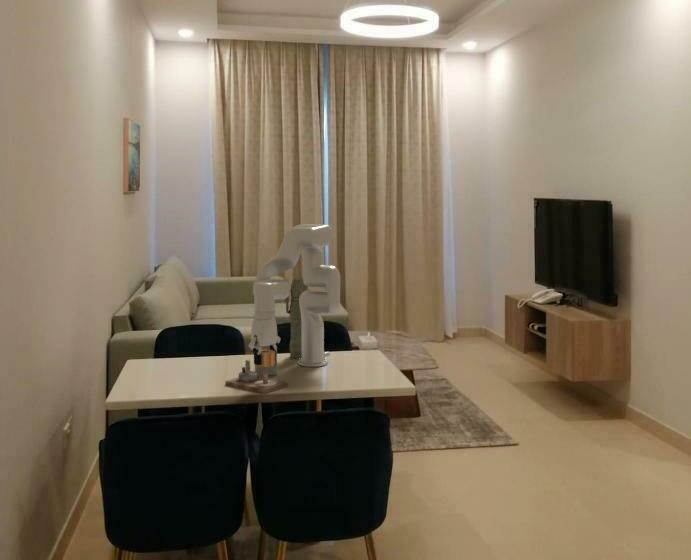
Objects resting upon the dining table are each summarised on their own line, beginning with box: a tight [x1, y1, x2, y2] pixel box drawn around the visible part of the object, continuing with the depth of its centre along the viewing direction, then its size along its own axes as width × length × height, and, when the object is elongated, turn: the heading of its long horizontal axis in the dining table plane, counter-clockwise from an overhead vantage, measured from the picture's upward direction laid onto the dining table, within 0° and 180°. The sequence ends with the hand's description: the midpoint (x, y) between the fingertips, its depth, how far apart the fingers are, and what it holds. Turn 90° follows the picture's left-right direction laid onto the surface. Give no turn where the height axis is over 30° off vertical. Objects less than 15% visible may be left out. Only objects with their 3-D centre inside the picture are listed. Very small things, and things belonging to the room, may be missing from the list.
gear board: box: [224, 359, 289, 394], centre depth 260 cm, size 20×13×9 cm, turn 54°
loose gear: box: [257, 349, 275, 367], centre depth 256 cm, size 7×7×5 cm
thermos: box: [285, 278, 310, 360], centre depth 307 cm, size 9×12×35 cm
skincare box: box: [254, 345, 278, 377], centre depth 277 cm, size 8×7×16 cm
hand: (265, 362), depth 256 cm, fingers closed on loose gear, 7 cm apart
